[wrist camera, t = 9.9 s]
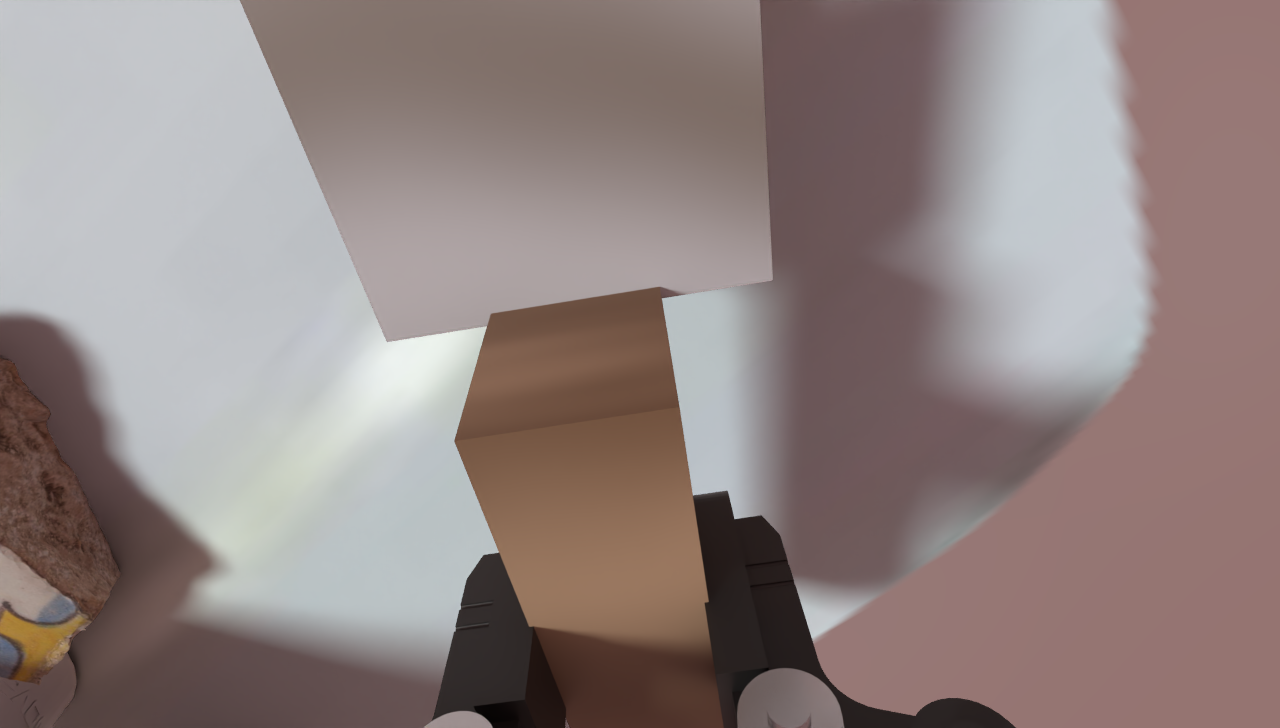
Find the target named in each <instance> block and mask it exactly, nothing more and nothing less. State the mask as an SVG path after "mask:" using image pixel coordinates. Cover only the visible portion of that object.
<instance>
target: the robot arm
mask: <svg viewBox="0 0 1280 728" xmlns="http://www.w3.org/2000/svg"><path fill="white" fill-rule="evenodd" d="M693 501H694V507H695V514H696V520H697V527H698V534H699V540H700V547H701V554H702V560H703V567H704V573H705V580H706V587H707V593H708V600H709V602H705V610H706V616H707V623H708V630H709V636H710V643H711V649H712V656H713V663H714V669H715V676H716V682H717V689H718V695H719V701H720V708H721V714H722V720H723V727H724V728H1015V727H1014V726H1013V725H1012V724H1011V723H1010V722H1009V721H1008V720H1006V719H1005V718H1004V717H1003V716H1001V715H1000V714H999V713H997V712H995V711H994V710H992V709H990V708H989V707H986V706H984V705H982V704H980V703H977V702H973V701H970V700H965V699H960V698H947V699H940V700H937V701H934V702H931V703H930V704H928V705H926V706H924V707H923V708H922V709H921V710H920V711H919V712H918V713H917V715H916V716H912V715H906V714H901V713H896V712H891V711H886V710H880V709H875V708H872V707H868V706H865V705H863V704H860V703H858V702H856V701H854V700H852V699H850V698H849V697H847V696H846V695H844V694H843V693H842V692H840V691H839V690H838V689H837V688H836V687H835V686H834V685H833V684H832V683H831V682H830V681H829V679H828V678H827V677H826V675H825V674H824V672H823V670H822V668H821V666H820V663H819V661H818V658H817V655H816V651H815V648H814V645H813V641H812V638H811V635H810V632H809V628H808V625H807V622H806V619H805V615H804V612H803V609H802V606H801V602H800V599H799V596H798V593H797V589H796V586H795V585H794V579H793V576H792V573H791V570H790V566H789V564H788V561H787V557H786V553H785V550H784V547H783V544H782V540H781V537H780V535H779V534H778V533H777V531H776V530H775V529H774V528H773V527H772V526H771V525H770V524H769V523H768V522H767V521H766V520H765V519H764V518H763V516H755V517H748V518H741V519H734V516H733V511H732V507H731V503H730V498H729V494H728V491H722V492H715V493H708V494H701V495H694V496H693ZM40 678H41V680H42V681H41V684H40V685H37V684H34V683H27V682H22V681H18V680H9V679H6V678H3V677H0V728H51V727H52V726H53V725H54V723H55V722H56V721H57V719H58V718H59V717H60V715H61V714H62V712H63V711H64V710H65V708H66V707H67V706H68V704H69V703H70V702H71V700H72V699H73V697H74V693H75V689H76V684H77V680H76V674H75V668H74V665H73V663H72V661H71V659H70V657H69V655H68V653H67V652H66V653H65V655H64V658H63V660H60V661H59V662H58V664H55V665H54V667H53V669H51V670H50V671H49V673H48V674H47V675H44V676H43V677H40ZM565 720H566V707H565V704H564V702H563V699H562V697H561V694H560V692H559V689H558V687H557V684H556V682H555V679H554V677H553V674H552V672H551V669H550V666H549V664H548V661H547V659H546V656H545V654H544V651H543V649H542V646H541V644H540V641H539V639H538V636H537V634H536V631H535V629H534V626H532V627H529V625H528V622H527V620H526V618H525V615H524V613H523V610H522V608H521V605H520V603H519V600H518V598H517V595H516V593H515V590H514V588H513V585H512V583H511V580H510V578H509V575H508V573H507V570H506V568H505V565H504V563H503V560H502V558H501V556H500V553H495V554H488V555H483V557H482V558H481V560H480V561H479V562H478V564H477V565H476V567H475V568H474V570H473V571H472V573H471V574H470V575H469V577H468V578H467V581H466V585H465V589H464V593H463V597H462V602H461V610H459V614H458V618H457V622H456V632H454V635H453V639H452V643H451V647H450V651H449V655H448V660H447V664H446V668H445V672H444V676H443V680H442V684H441V689H440V693H439V697H438V701H437V705H436V709H435V713H434V716H433V719H432V722H430V723H429V724H427V725H426V726H425V727H424V728H565Z"/></svg>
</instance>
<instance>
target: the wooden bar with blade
mask: <svg viewBox="0 0 1280 728" xmlns="http://www.w3.org/2000/svg"><path fill="white" fill-rule="evenodd" d="M240 1H241V4H242V6H243V8H244V11H245V13H246V15H247V18H248V20H249V22H250V25H251V27H252V29H253V32H254V34H255V36H256V39H257V41H258V43H259V46H260V48H261V50H262V53H263V55H264V57H265V60H266V62H267V64H268V67H269V69H270V71H271V73H272V76H273V78H274V80H275V83H276V85H277V87H278V90H279V92H280V94H281V97H282V99H283V101H284V104H285V106H286V108H287V111H288V113H289V115H290V118H291V120H292V122H293V125H294V127H295V129H296V132H297V134H298V136H299V139H300V141H301V143H302V146H303V148H304V150H305V152H306V155H307V157H308V159H309V162H310V164H311V166H312V169H313V171H314V173H315V176H316V178H317V180H318V183H319V185H320V187H321V190H322V192H323V194H324V197H325V199H326V201H327V204H328V206H329V208H330V211H331V213H332V215H333V218H334V220H335V222H336V225H337V227H338V229H339V232H340V234H341V236H342V238H343V241H344V243H345V245H346V248H347V250H348V252H349V255H350V257H351V259H352V262H353V264H354V266H355V269H356V271H357V273H358V276H359V278H360V280H361V283H362V285H363V287H364V290H365V292H366V294H367V297H368V299H369V301H370V304H371V306H372V308H373V311H374V313H375V315H376V317H377V320H378V322H379V324H380V327H381V329H382V331H383V334H384V336H385V338H386V341H387V342H390V341H396V340H402V339H409V338H415V337H421V336H427V335H434V334H440V333H446V332H453V331H459V330H465V329H471V328H478V327H484V326H487V329H486V332H485V336H484V339H483V343H482V346H481V350H480V353H479V357H478V360H477V364H476V367H475V371H474V374H473V378H472V381H471V385H470V388H469V392H468V395H467V399H466V402H465V406H464V409H463V413H462V416H461V420H460V423H459V427H458V430H457V434H456V437H455V444H456V446H457V449H458V451H459V454H460V456H461V459H462V461H463V464H464V466H465V469H466V471H467V474H468V476H469V479H470V481H471V484H472V486H473V489H474V491H475V494H476V496H477V498H478V501H479V503H480V506H481V508H482V511H483V513H484V516H485V518H486V521H487V523H488V526H489V528H490V531H491V533H492V536H493V538H494V541H495V543H496V546H497V548H498V551H499V553H500V556H501V558H502V560H503V563H504V565H505V568H506V570H507V573H508V575H509V578H510V580H511V583H512V585H513V588H514V590H515V593H516V595H517V598H518V600H519V603H520V605H521V608H522V610H523V613H524V615H525V618H526V620H527V622H528V625H529V627H532V626H534V629H535V631H536V634H537V636H538V639H539V641H540V644H541V646H542V649H543V651H544V654H545V656H546V659H547V661H548V664H549V666H550V669H551V672H552V674H553V677H554V679H555V682H556V684H557V687H558V689H559V692H560V694H561V697H562V699H563V702H564V704H565V707H566V719H567V722H568V724H569V727H570V728H724V727H723V720H722V714H721V708H720V701H719V695H718V689H717V682H716V676H715V669H714V663H713V656H712V649H711V643H710V636H709V630H708V623H707V616H706V610H705V602H709V600H708V593H707V587H706V580H705V573H704V567H703V560H702V554H701V547H700V540H699V534H698V527H697V520H696V514H695V507H694V501H693V494H692V487H691V481H690V474H689V468H688V461H687V454H686V448H685V441H684V434H683V428H682V421H681V415H680V408H679V402H678V396H677V390H676V383H675V377H674V371H673V365H672V359H671V353H670V347H669V340H668V334H667V328H666V322H665V316H664V310H663V304H662V298H666V297H672V296H679V295H685V294H691V293H697V292H704V291H710V290H716V289H723V288H729V287H735V286H741V285H748V284H754V283H760V282H767V281H773V273H772V252H771V230H770V209H769V187H768V165H767V144H766V122H765V100H764V79H763V57H762V36H761V14H760V0H240Z"/></svg>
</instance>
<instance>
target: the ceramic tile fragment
mask: <svg viewBox="0 0 1280 728" xmlns="http://www.w3.org/2000/svg"><path fill="white" fill-rule="evenodd" d="M50 414H51V413H50V411H49V409H48V407H46V406H45V405H43V404H42V403H41V402H40V401H39V400H38V399H37V398H36V397H35V396H34V395H33V394H32V393H31V392H30V391H29V390H28V388H27V386H26V385H25V383H23V382H22V381H21V379H20V377H19V376H18V373H17V369H16V366H15V364H14V363H13V362H11V361H9V360H5V359H1V358H0V677H3V678H6V679H9V680H18V681H22V682H27V683H34V684H37V685H40V684H41V681H42V680H41V678H40V677H43V676H44V675H47V674H48V673H49V671H50V670H51V669H53V667H54V665H55V664H58V662H59V661H60V660H63V658H64V655H65V653H66V652H68V651H69V650H70V646H71V642H72V640H73V638H74V637H75V636H76V635H77V634H78V633H79V632H81V631H82V630H85V631H86V629H85V627H87V626H88V625H89V624H90V623H92V622H93V621H94V620H95V618H96V617H97V615H98V614H99V613H100V611H101V610H102V608H103V606H104V604H105V602H106V600H107V599H108V598H109V596H110V591H111V589H112V588H113V586H114V585H115V583H116V581H117V580H118V578H119V577H120V572H119V569H118V566H117V564H116V562H115V561H114V559H113V556H112V553H111V550H110V547H109V544H108V542H107V541H106V539H105V537H104V535H103V533H102V531H101V529H100V527H99V524H98V522H97V520H96V518H95V516H94V514H93V512H92V511H91V509H90V507H89V505H88V501H87V499H86V497H85V495H84V493H83V491H82V489H81V485H80V483H79V481H78V479H77V477H76V475H75V474H74V472H73V471H72V469H71V468H70V467H69V466H68V465H67V464H66V463H65V462H64V461H63V460H62V459H61V457H60V454H59V451H58V449H57V447H56V445H55V444H54V442H53V440H52V438H51V435H50V434H49V432H48V430H47V427H46V423H47V420H48V418H49V416H50Z"/></svg>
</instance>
